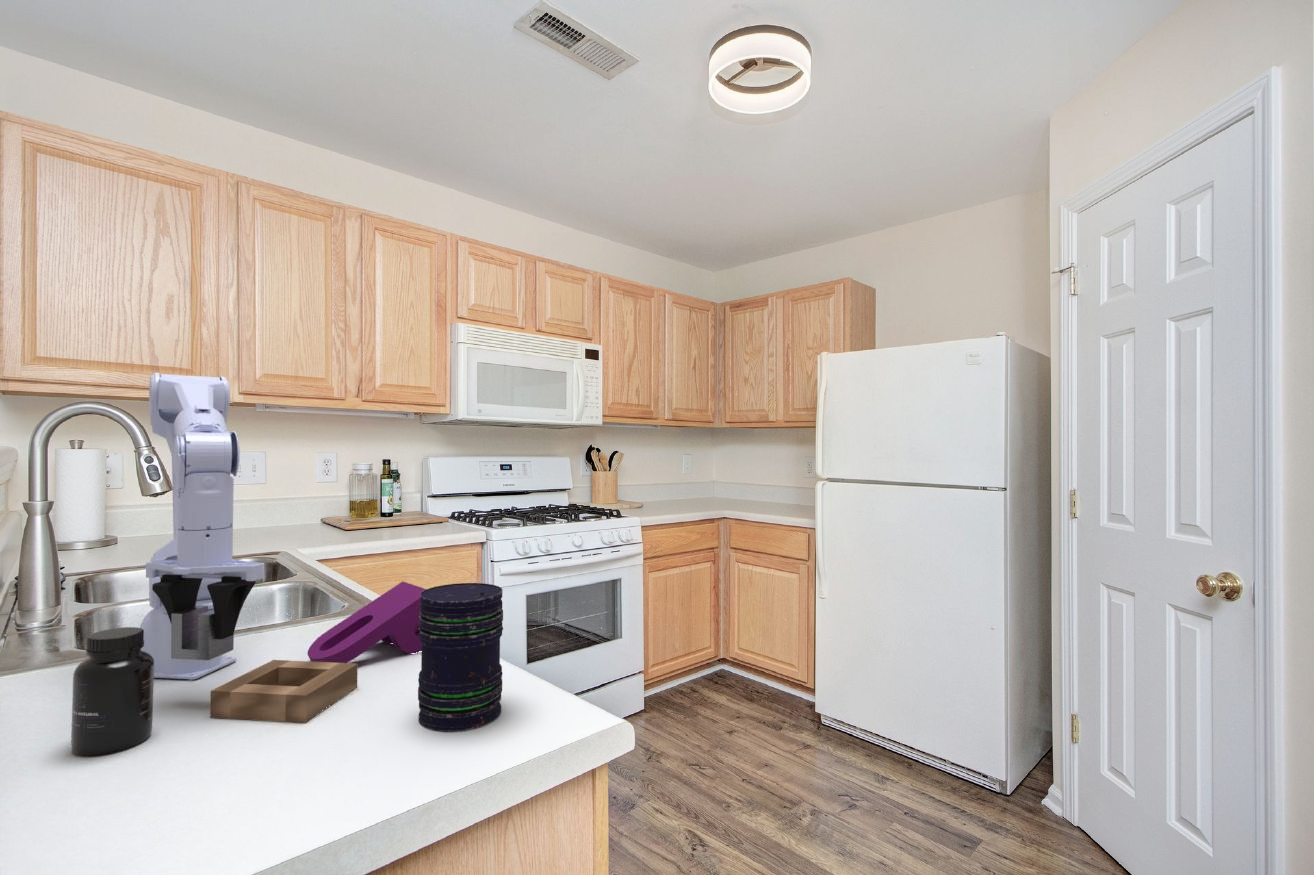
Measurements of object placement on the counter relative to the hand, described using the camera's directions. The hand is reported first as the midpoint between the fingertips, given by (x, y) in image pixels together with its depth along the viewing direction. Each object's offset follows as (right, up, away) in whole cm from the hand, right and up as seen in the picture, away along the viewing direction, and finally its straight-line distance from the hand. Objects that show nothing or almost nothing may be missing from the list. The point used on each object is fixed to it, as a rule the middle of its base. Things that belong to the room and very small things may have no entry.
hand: (204, 636), depth 81 cm
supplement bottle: (-3, -9, -10) cm, 14 cm away
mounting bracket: (+13, -9, +20) cm, 25 cm away
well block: (+10, -9, +1) cm, 13 cm away
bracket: (0, -2, 0) cm, 2 cm away
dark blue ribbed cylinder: (+33, -9, -2) cm, 34 cm away
